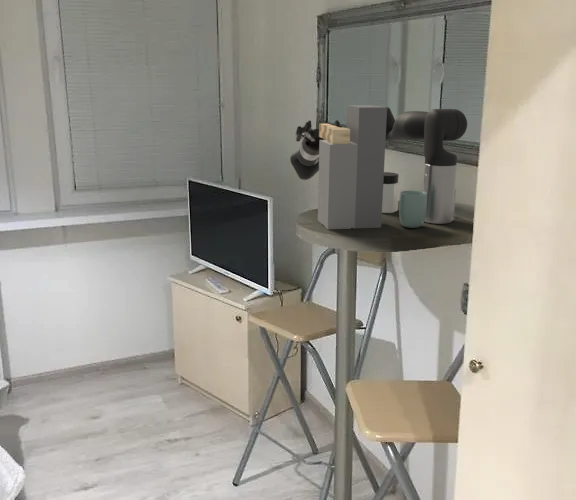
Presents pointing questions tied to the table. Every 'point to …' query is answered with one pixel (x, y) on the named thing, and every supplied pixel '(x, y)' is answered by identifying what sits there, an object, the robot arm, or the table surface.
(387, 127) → the robot arm
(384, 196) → the jar
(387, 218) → the table surface
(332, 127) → the tan wooden bar piece
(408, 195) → the cup
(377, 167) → the stand
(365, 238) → the table surface
